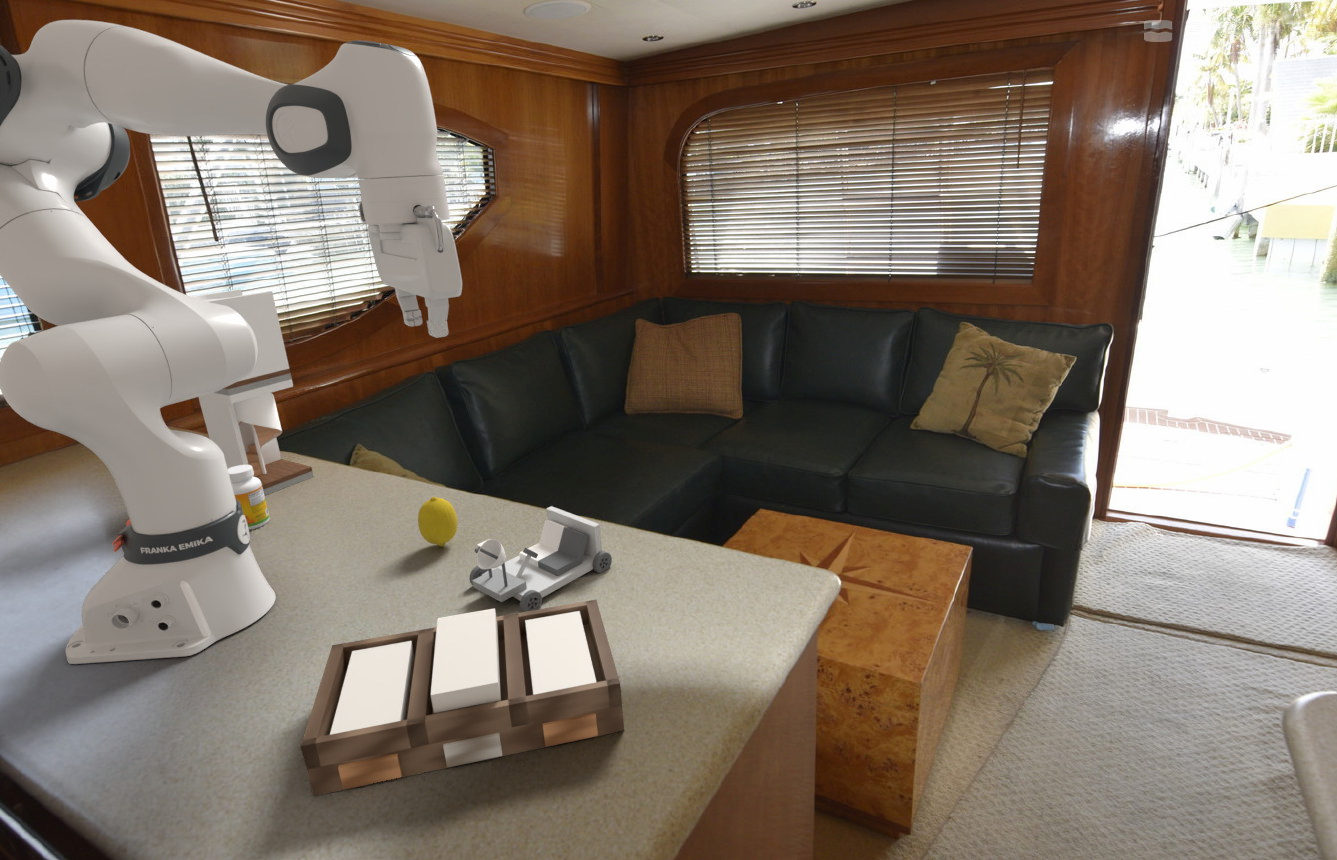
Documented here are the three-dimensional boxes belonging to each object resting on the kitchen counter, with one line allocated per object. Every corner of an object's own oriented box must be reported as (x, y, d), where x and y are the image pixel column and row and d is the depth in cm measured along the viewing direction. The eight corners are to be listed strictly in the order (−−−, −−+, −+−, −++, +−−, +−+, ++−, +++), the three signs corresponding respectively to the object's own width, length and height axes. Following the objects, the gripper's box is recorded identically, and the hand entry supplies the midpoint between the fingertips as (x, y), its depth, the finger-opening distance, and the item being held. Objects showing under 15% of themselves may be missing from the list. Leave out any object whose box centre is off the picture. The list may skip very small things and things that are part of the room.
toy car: (497, 557, 88) (442, 531, 95) (507, 629, 91) (453, 598, 98) (607, 503, 100) (551, 484, 108) (613, 568, 103) (558, 545, 111)
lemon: (450, 556, 108) (442, 505, 106) (415, 554, 110) (406, 504, 107) (467, 538, 114) (459, 490, 111) (434, 536, 115) (425, 488, 112)
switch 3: (535, 712, 71) (533, 695, 70) (527, 636, 83) (525, 620, 82) (598, 700, 72) (596, 682, 71) (581, 626, 84) (579, 610, 83)
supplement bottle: (226, 529, 121) (211, 473, 118) (254, 515, 126) (240, 461, 123) (249, 533, 119) (235, 477, 116) (277, 519, 124) (264, 464, 121)
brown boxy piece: (312, 798, 66) (299, 749, 65) (342, 688, 81) (332, 645, 79) (624, 732, 72) (620, 685, 70) (600, 640, 87) (596, 599, 85)
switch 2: (434, 713, 68) (430, 695, 68) (440, 634, 80) (437, 618, 80) (500, 700, 70) (498, 682, 69) (497, 624, 82) (494, 608, 81)
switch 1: (334, 753, 67) (329, 735, 66) (355, 667, 79) (352, 651, 78) (403, 739, 68) (400, 721, 68) (414, 656, 80) (411, 640, 80)
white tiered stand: (255, 499, 133) (205, 302, 121) (223, 489, 138) (172, 299, 127) (313, 476, 142) (272, 291, 130) (281, 468, 147) (238, 289, 136)
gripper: (467, 203, 75) (485, 339, 80) (408, 203, 91) (426, 316, 96) (403, 208, 72) (426, 348, 76) (354, 207, 88) (375, 323, 93)
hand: (426, 330), depth 86 cm, fingers open, 8 cm apart
